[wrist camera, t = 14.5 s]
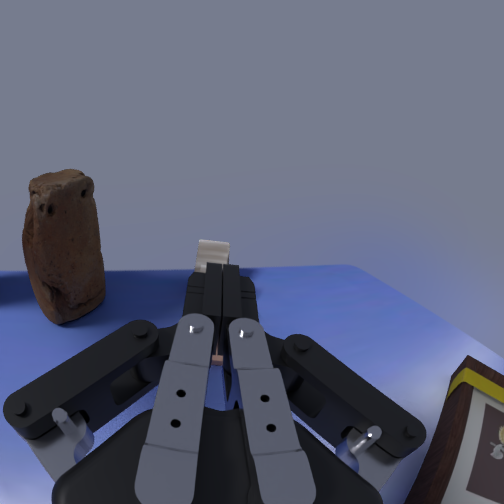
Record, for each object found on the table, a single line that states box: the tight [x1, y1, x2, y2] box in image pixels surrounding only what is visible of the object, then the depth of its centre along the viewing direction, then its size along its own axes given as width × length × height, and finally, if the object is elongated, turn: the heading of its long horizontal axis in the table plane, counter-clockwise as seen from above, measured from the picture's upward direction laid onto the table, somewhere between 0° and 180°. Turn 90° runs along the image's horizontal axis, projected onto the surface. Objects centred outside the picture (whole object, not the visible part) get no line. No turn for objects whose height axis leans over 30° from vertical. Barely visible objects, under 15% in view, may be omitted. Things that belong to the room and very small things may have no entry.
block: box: [22, 169, 106, 324], centre depth 34 cm, size 11×8×20 cm
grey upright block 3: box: [195, 239, 229, 272], centre depth 48 cm, size 2×5×10 cm
